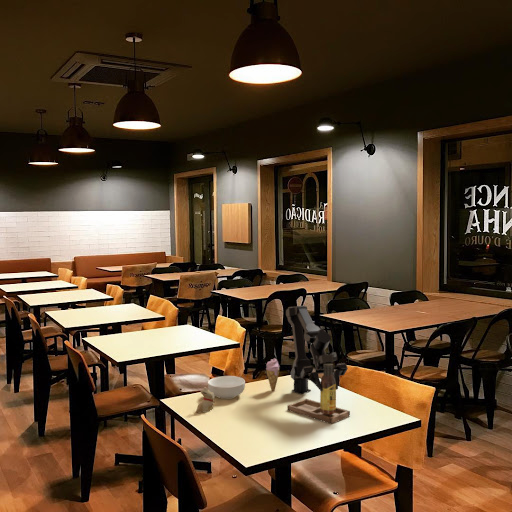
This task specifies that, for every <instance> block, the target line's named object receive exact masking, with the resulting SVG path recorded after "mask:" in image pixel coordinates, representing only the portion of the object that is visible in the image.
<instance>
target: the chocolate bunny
mask: <svg viewBox="0 0 512 512" xmlns="http://www.w3.org/2000/svg"><path fill="white" fill-rule="evenodd" d="M200 394H201V395H202V397H203V399H202V400H201V401H199V402H198V404H197V407H196V413H207V411H208V412H211V411H212V409H213V410H214V403H215V401H214V400H215V396H214V393H213V392H210V391H209V388H207V387H206V386H203V389H202V390H200ZM210 410H211V411H210Z"/></svg>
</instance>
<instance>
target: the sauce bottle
mask: <svg viewBox="0 0 512 512" xmlns="http://www.w3.org/2000/svg"><path fill="white" fill-rule="evenodd" d="M333 363H334V362H332V363H324V364H323V367H324V373H322V374H323V375H322V377H321V379H320V382H321V385H322V389H323V390H322V391H319V392H320V394H319V395H320V396H319V397H320V408H321V413H323V414H334V413H335V410H336V407H337V390H336V382H335V379H334V376H333V368H334V364H333Z"/></svg>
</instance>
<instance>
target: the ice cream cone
mask: <svg viewBox="0 0 512 512" xmlns="http://www.w3.org/2000/svg"><path fill="white" fill-rule="evenodd" d="M265 367H266V368H265V370H266V375H267V376H266V377H267V380H268V383H269V386H270V389H271V391H272V392H274V391H275V390H276V387H277V383H278V378H279V373H280V367H281V366H280V364H279V361H278V359H276V358H275V357H274V358H273V359H270V361H267V363H266V366H265Z"/></svg>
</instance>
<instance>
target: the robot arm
mask: <svg viewBox="0 0 512 512" xmlns="http://www.w3.org/2000/svg"><path fill="white" fill-rule="evenodd" d="M285 316H286V318H287V321H288V323H289V324H290V325H291V328H292V338H293V345H294V355H295V358H294V360H293V362H292V369H291V371H290V372H289V373H290V378H291V380H293V389H291V392H293V393H297V394H300V395H303V394H307V393H309V392H311V391H312V390H311V389H310V388H309V381H311V382H312V383H313V384H314V386H316V388H318V390H320V391H322V390H323V389H322V385H321V379H320V377H319V375H321V374H323V373H324V367H323V364H324V363H334V362H335V361H337V360H338V355H337V352H336V351H335V352H331V353H330V354H328V353H327V352H326V349H327V348H328V347H329V344H330V341H331V339H332V338H331V337H332V336H331V335H330V334H329V333H328V332H326V331H325V329H324V328H320V326H318V325H316V324H315V323H314V321H313V320H312V317H311V315H310V314H309V311H308V307H307V306H306V305H296V306H288V308H286V310H285ZM303 330H304V331H303ZM305 342H306V344H308V345H309V344H311V345H310V348H309V349H310V350H309V353H311V357H312V360H313V362H311V360H310V358H308V357H307V355H306V347H305ZM311 363H313V365H314V366H315V368H314V366H312V364H311ZM348 369H349V368H348V365H347V363H345V362H343V363H336V365H335V366H333V376H334V379H335V382H336V391H337V390H338V389H339V378H340V376H341V377H342V376H344V375H345V374H346V373H347V371H348ZM320 391H319V392H320Z"/></svg>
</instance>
